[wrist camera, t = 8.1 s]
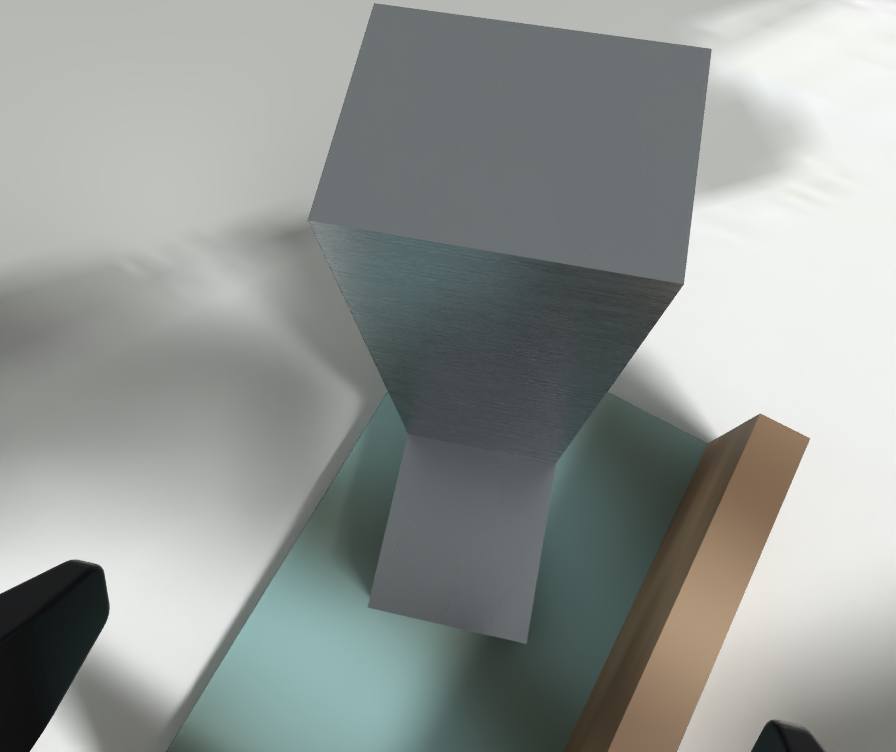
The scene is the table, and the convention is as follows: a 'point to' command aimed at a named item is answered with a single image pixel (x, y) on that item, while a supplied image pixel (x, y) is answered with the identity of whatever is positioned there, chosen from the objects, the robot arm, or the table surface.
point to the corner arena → (553, 613)
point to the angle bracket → (501, 272)
